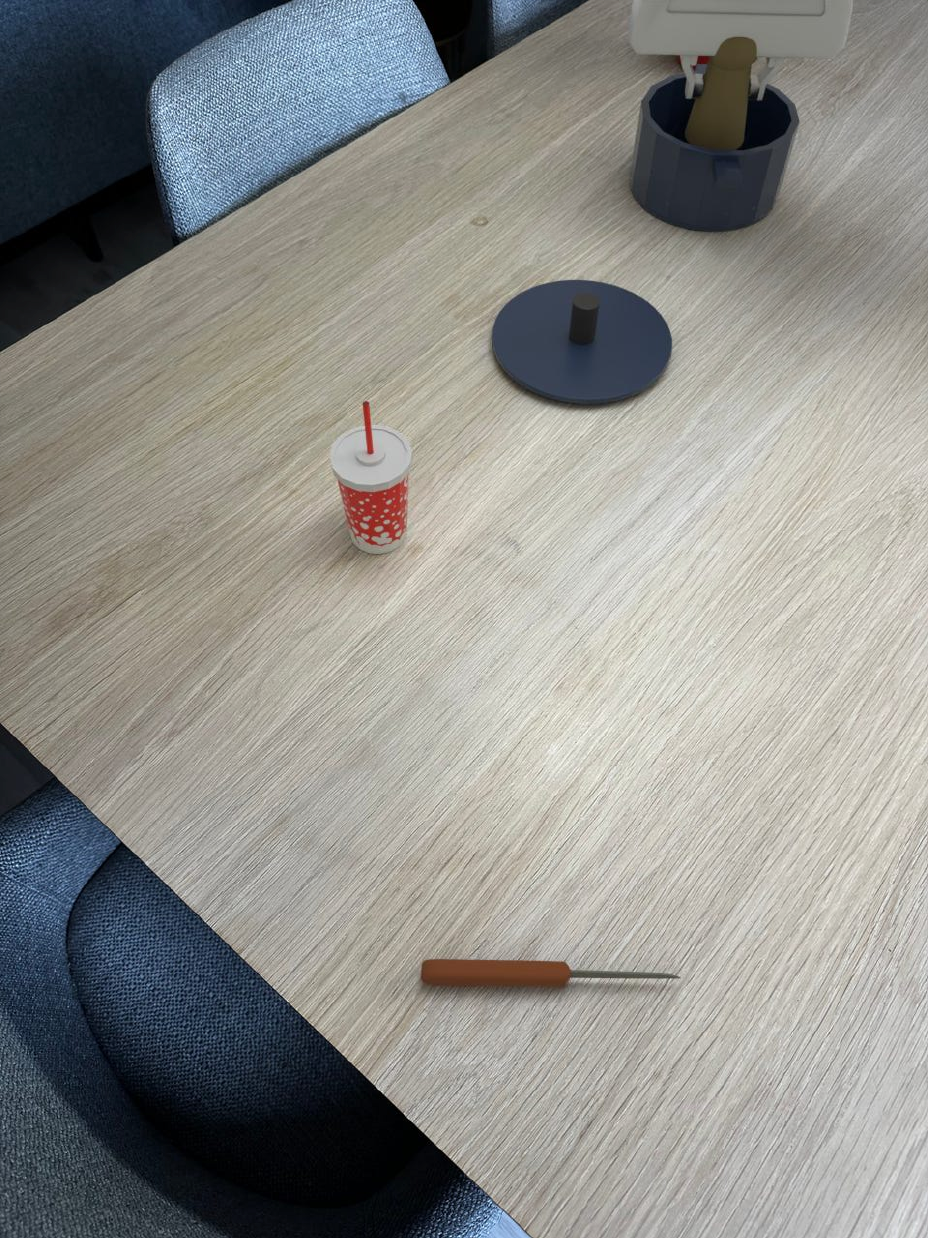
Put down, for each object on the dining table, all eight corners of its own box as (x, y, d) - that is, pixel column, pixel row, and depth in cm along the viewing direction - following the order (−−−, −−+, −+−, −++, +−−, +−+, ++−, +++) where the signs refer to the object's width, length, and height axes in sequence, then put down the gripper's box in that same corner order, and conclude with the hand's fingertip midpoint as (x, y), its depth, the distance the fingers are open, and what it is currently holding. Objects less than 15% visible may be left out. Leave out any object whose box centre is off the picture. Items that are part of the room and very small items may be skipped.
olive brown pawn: (702, 113, 109) (724, 2, 100) (754, 132, 107) (782, 21, 98) (674, 139, 106) (694, 27, 97) (726, 159, 104) (753, 47, 95)
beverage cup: (401, 569, 81) (392, 443, 70) (329, 551, 82) (308, 423, 71) (426, 512, 85) (421, 383, 73) (356, 496, 86) (340, 365, 74)
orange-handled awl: (421, 988, 63) (420, 979, 62) (422, 965, 64) (421, 955, 62) (679, 993, 63) (685, 984, 61) (677, 971, 64) (683, 961, 62)
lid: (663, 291, 101) (672, 245, 97) (677, 411, 92) (688, 366, 87) (493, 287, 101) (494, 240, 97) (489, 406, 92) (491, 361, 88)
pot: (763, 135, 117) (782, 58, 110) (790, 249, 105) (814, 172, 98) (624, 131, 117) (635, 55, 110) (636, 245, 105) (649, 168, 98)
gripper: (866, -71, 93) (822, 82, 105) (639, -76, 94) (619, 77, 105) (880, -39, 90) (832, 116, 101) (644, -45, 90) (622, 111, 101)
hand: (722, 96), depth 103 cm, fingers closed on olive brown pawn, 4 cm apart
